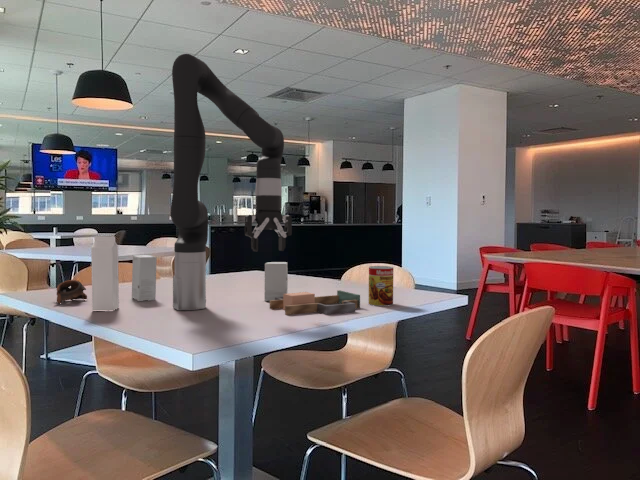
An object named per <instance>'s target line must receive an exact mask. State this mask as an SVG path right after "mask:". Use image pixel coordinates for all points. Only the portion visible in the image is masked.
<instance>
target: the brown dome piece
mask: <svg viewBox="0 0 640 480" xmlns="http://www.w3.org/2000/svg"><path fill="white" fill-rule="evenodd" d="M86 290H87V289H86V287H85V286H84V285H83V284H82V282H80V281H79V280H76V279H70V280H69V279H68V280H65V281H63V282H60V283H58V284H57V285H56V302H57V304H58V303H61V304H62V302H65V301H71V300H72V299H75V300H84V299H87V300H88V296H87V294H86V293H85V292H84V291H86ZM72 301H73V300H72Z"/></svg>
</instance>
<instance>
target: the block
mask: <svg viewBox="0 0 640 480" xmlns="http://www.w3.org/2000/svg"><path fill="white" fill-rule="evenodd" d="M315 297H316V295H315V293H312V292H308V291H303V292H302V291H300V292H290V293H289V292H287V294H283V308H282V309H283V311H285V306H288V305H300V304H311V303H315Z"/></svg>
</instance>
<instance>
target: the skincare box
mask: <svg viewBox="0 0 640 480" xmlns="http://www.w3.org/2000/svg"><path fill="white" fill-rule="evenodd" d="M157 259H158V257H157V256H153V255H149V254H141V255H140V254H133V255H132V270H131V272H132V273H131V274H132V275H131V299H133V298H134V299H133V300H136V299H137V300H136V301H137V302H144V301H143V300H148V301H156V297H157V294H156V293H157V289H156V288H157Z"/></svg>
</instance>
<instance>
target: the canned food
mask: <svg viewBox="0 0 640 480" xmlns="http://www.w3.org/2000/svg"><path fill="white" fill-rule="evenodd" d="M369 304H370V305H369ZM368 305H369V306H373V305H374V306H375V307H389V306H388V305H391V306H393V305H394V267H393V266H388V265H374V266H369V267H368Z"/></svg>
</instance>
